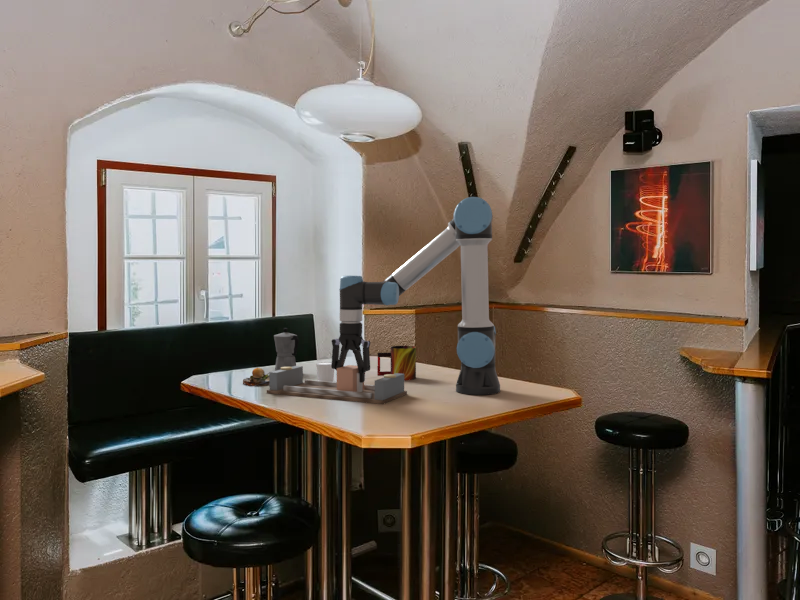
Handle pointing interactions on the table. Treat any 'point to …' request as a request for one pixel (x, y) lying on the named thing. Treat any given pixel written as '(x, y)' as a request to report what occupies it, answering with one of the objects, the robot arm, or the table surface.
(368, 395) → the rail track
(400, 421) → the table surface
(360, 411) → the table surface
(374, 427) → the table surface
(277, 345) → the coffeepot
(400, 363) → the mug
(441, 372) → the table surface
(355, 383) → the salmon pink box
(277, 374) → the knobbed grey end panels
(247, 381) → the burger
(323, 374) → the white cup
